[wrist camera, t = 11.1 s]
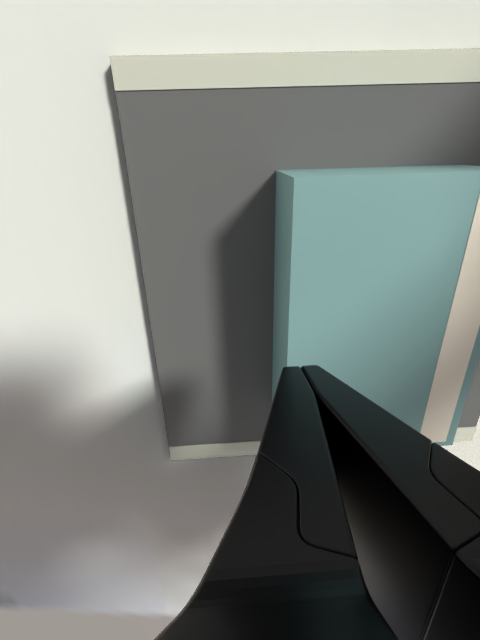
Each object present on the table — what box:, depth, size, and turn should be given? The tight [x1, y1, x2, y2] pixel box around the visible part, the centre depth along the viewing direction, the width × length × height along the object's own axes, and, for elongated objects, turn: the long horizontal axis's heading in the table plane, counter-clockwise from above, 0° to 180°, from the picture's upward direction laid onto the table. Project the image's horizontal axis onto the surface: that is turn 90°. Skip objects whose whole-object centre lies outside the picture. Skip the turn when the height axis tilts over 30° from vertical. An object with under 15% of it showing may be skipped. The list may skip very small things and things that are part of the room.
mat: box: [110, 48, 480, 460], centre depth 14 cm, size 14×15×1 cm
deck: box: [272, 165, 480, 446], centre depth 12 cm, size 3×9×6 cm
